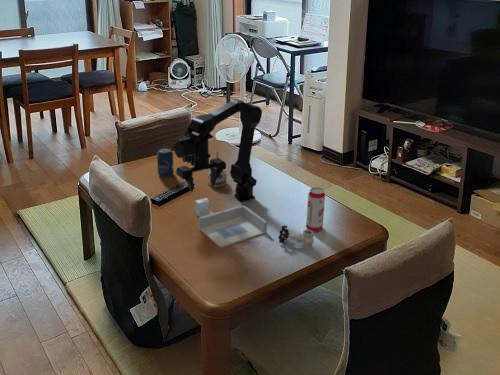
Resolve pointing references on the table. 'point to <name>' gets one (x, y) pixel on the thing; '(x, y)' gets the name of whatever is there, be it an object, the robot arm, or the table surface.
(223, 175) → the decorative ornament
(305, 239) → the valve
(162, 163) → the soda can
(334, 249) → the table surface
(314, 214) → the beer can
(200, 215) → the bracket
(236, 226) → the tray
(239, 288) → the table surface
